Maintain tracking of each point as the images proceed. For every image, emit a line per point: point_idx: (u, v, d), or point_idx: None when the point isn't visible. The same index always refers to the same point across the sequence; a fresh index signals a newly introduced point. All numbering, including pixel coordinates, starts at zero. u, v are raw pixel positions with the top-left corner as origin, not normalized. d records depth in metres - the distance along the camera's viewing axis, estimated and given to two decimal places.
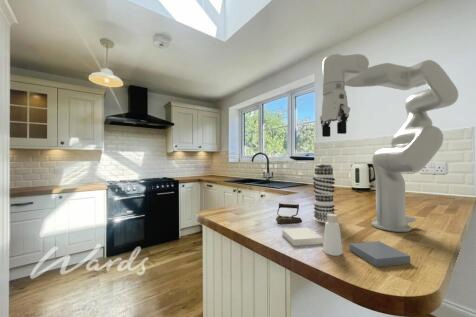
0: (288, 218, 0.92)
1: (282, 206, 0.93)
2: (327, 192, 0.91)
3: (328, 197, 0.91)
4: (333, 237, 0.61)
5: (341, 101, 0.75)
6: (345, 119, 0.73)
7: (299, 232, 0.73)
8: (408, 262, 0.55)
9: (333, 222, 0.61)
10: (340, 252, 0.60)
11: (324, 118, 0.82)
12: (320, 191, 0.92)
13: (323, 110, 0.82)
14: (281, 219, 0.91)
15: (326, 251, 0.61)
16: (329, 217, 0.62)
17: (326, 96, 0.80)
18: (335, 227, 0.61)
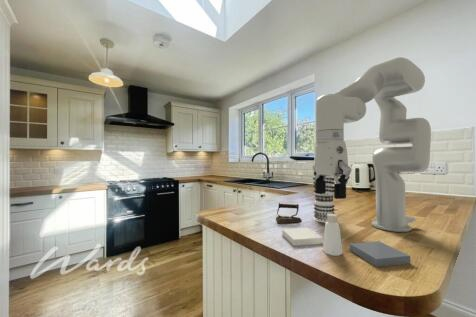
0: (288, 218, 0.92)
1: (282, 206, 0.93)
2: (327, 192, 0.91)
3: (328, 197, 0.91)
4: (333, 237, 0.61)
5: (339, 156, 0.58)
6: (345, 181, 0.56)
7: (299, 232, 0.73)
8: (408, 262, 0.55)
9: (333, 222, 0.61)
10: (340, 252, 0.60)
11: (318, 172, 0.65)
12: None
13: (316, 161, 0.65)
14: (281, 219, 0.91)
15: (326, 251, 0.61)
16: (329, 217, 0.62)
17: (320, 146, 0.63)
18: (335, 227, 0.61)
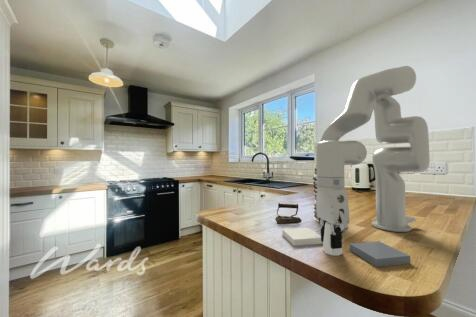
0: (288, 218, 0.92)
1: (281, 206, 0.93)
2: None
3: None
4: None
5: (340, 205, 0.58)
6: (340, 233, 0.58)
7: (299, 232, 0.73)
8: (408, 262, 0.55)
9: None
10: (340, 252, 0.60)
11: (319, 215, 0.65)
12: None
13: (317, 205, 0.65)
14: (281, 219, 0.91)
15: (326, 251, 0.61)
16: None
17: (321, 191, 0.63)
18: (335, 227, 0.61)
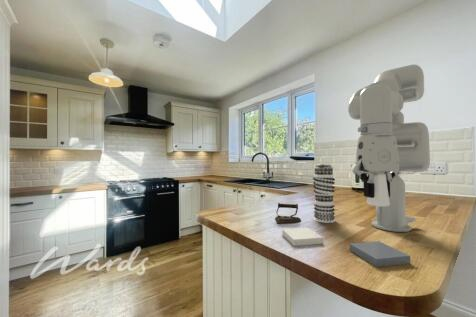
0: (287, 218, 0.92)
1: (281, 206, 0.93)
2: (327, 192, 0.91)
3: (328, 197, 0.91)
4: None
5: (360, 152, 0.59)
6: (364, 180, 0.59)
7: (299, 232, 0.73)
8: (408, 262, 0.55)
9: None
10: (373, 203, 0.58)
11: None
12: (320, 191, 0.92)
13: None
14: (280, 219, 0.91)
15: None
16: None
17: None
18: None
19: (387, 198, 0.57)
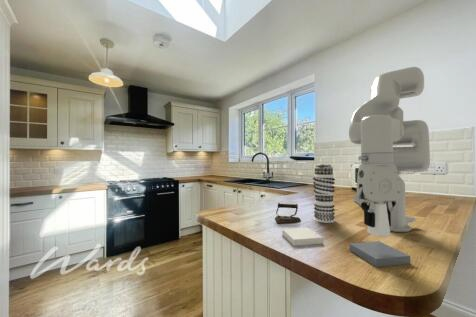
0: (287, 218, 0.92)
1: (281, 206, 0.93)
2: (327, 192, 0.91)
3: (328, 197, 0.91)
4: None
5: (360, 180, 0.59)
6: (364, 209, 0.58)
7: (299, 232, 0.73)
8: (408, 262, 0.55)
9: None
10: (374, 232, 0.57)
11: None
12: (320, 191, 0.92)
13: None
14: (280, 219, 0.91)
15: None
16: None
17: None
18: None
19: (388, 228, 0.57)
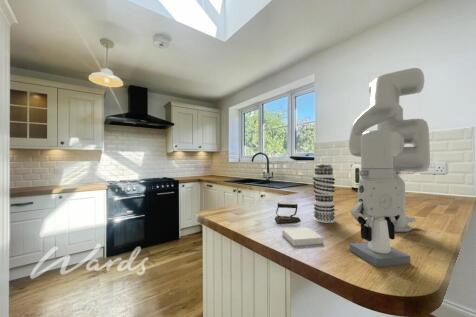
0: (287, 218, 0.92)
1: (281, 206, 0.93)
2: (327, 192, 0.91)
3: (328, 197, 0.91)
4: None
5: (360, 195, 0.59)
6: (361, 223, 0.58)
7: (299, 232, 0.73)
8: (408, 262, 0.55)
9: None
10: (374, 249, 0.58)
11: None
12: (320, 191, 0.92)
13: None
14: (280, 219, 0.91)
15: None
16: None
17: None
18: (372, 221, 0.59)
19: (388, 245, 0.57)
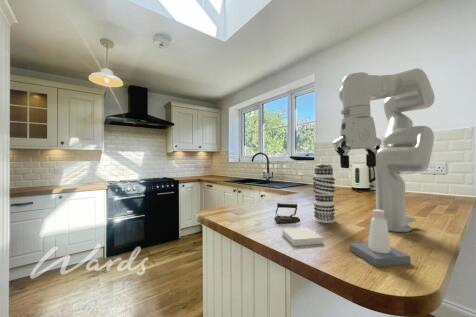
0: (287, 218, 0.92)
1: (281, 206, 0.94)
2: (327, 192, 0.91)
3: (328, 197, 0.91)
4: (370, 231, 0.59)
5: (343, 132, 0.67)
6: (340, 153, 0.66)
7: (299, 232, 0.73)
8: (408, 262, 0.55)
9: (373, 217, 0.59)
10: (374, 249, 0.58)
11: None
12: (320, 191, 0.92)
13: None
14: (280, 219, 0.91)
15: None
16: None
17: None
18: (372, 221, 0.59)
19: (388, 245, 0.57)
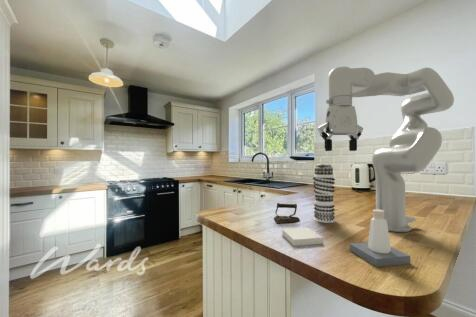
0: (287, 218, 0.92)
1: (280, 206, 0.94)
2: (327, 192, 0.91)
3: (328, 197, 0.91)
4: (370, 231, 0.59)
5: (327, 119, 0.76)
6: (324, 137, 0.75)
7: (299, 232, 0.73)
8: (408, 262, 0.55)
9: (373, 217, 0.59)
10: (374, 249, 0.58)
11: None
12: (320, 191, 0.92)
13: None
14: (280, 219, 0.91)
15: None
16: None
17: None
18: (372, 221, 0.59)
19: (388, 245, 0.57)
